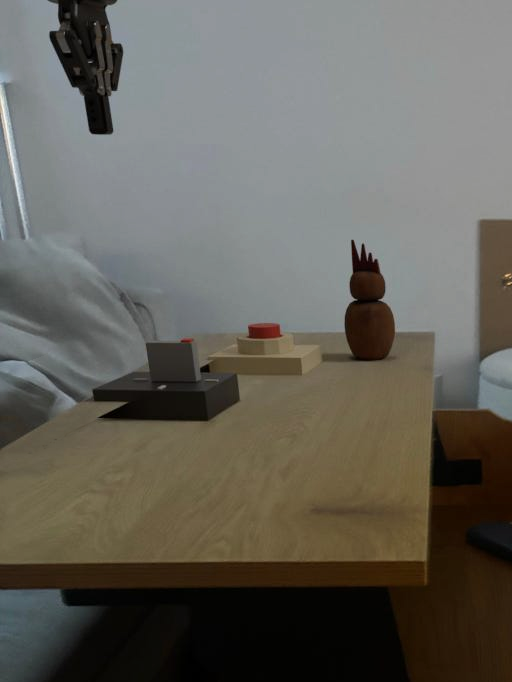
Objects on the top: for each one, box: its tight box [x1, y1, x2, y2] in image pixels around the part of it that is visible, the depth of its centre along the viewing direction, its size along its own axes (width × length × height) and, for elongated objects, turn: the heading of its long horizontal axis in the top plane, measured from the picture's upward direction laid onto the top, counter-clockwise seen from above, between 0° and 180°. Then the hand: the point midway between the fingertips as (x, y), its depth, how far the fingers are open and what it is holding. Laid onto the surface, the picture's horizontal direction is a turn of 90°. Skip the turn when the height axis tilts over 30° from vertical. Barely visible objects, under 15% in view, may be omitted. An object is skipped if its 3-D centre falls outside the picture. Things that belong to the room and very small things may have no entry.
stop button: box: [247, 322, 282, 339], centre depth 126 cm, size 4×4×2 cm
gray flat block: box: [145, 338, 201, 382], centre depth 104 cm, size 5×1×4 cm, turn 84°
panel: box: [92, 371, 241, 421], centre depth 105 cm, size 12×10×3 cm
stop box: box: [207, 331, 323, 376], centre depth 127 cm, size 12×10×4 cm
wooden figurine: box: [343, 239, 396, 361], centre depth 131 cm, size 7×6×15 cm
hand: (102, 134), depth 111 cm, fingers closed
